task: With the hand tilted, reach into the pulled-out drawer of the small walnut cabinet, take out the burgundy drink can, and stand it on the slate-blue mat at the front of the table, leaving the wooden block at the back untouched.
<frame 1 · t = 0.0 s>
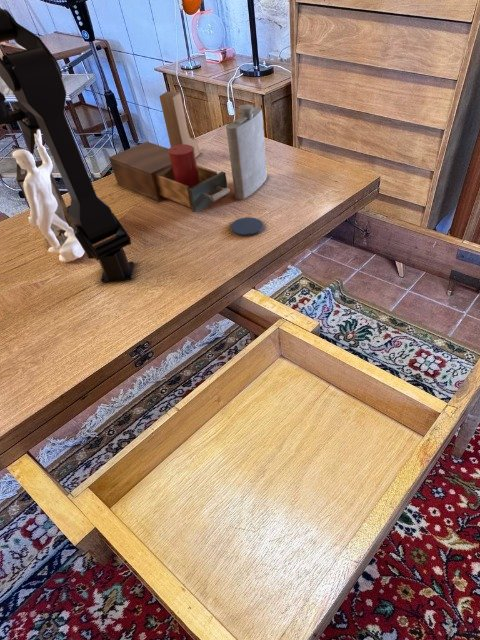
hand: (12, 159, 102), 15 cm above the table, tool pointing down, fingers open, 9 cm apart
hip flask: (252, 187, 125), on the table
wooden block: (187, 159, 138), on the table
figurine: (72, 254, 105), on the table
cabinet: (156, 184, 127), on the table
can: (189, 190, 120), point 2 cm above the table, touching drawer
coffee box: (62, 236, 110), on the table
drawer: (194, 186, 118), point 4 cm above the table, slide at 13.0 cm, touching can
mat: (247, 227, 111), on the table
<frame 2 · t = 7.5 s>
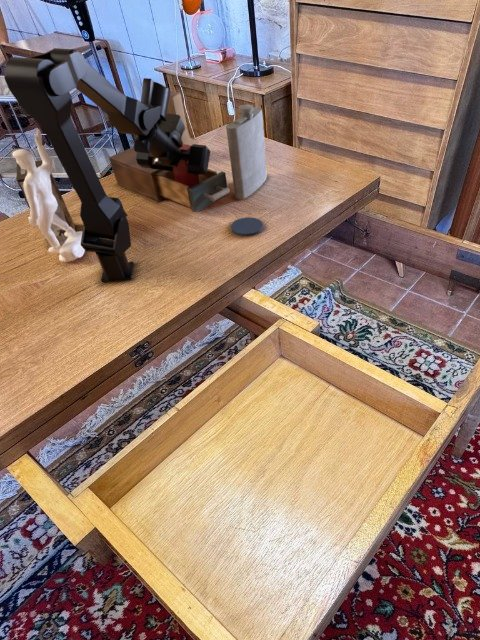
hand: (188, 171, 117), 7 cm above the table, tool tilted 45°, fingers closed on can, 6 cm apart
can: (189, 190, 120), point 2 cm above the table, touching drawer, gripper
everything else where it was.
when the fingers open (5 cm above the table, at t = 15.8 s): can stays where it is, resting on mat.
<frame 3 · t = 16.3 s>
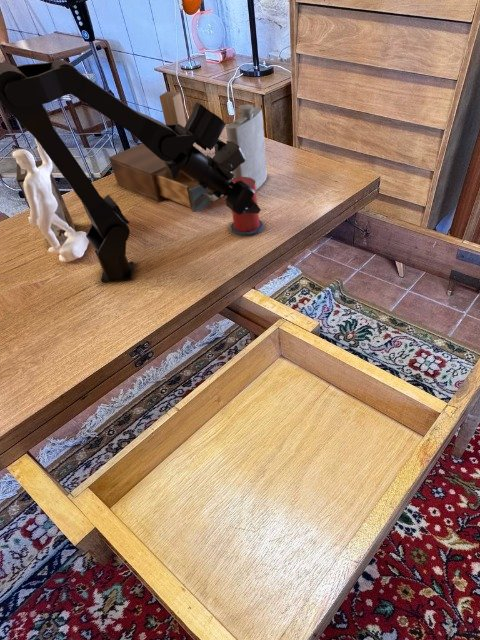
hand: (249, 203, 107), 6 cm above the table, tool tilted 45°, fingers open, 9 cm apart
can: (246, 225, 111), point 1 cm above the table, touching mat
drawer: (194, 186, 118), point 4 cm above the table, slide at 13.0 cm
everything else where it was.
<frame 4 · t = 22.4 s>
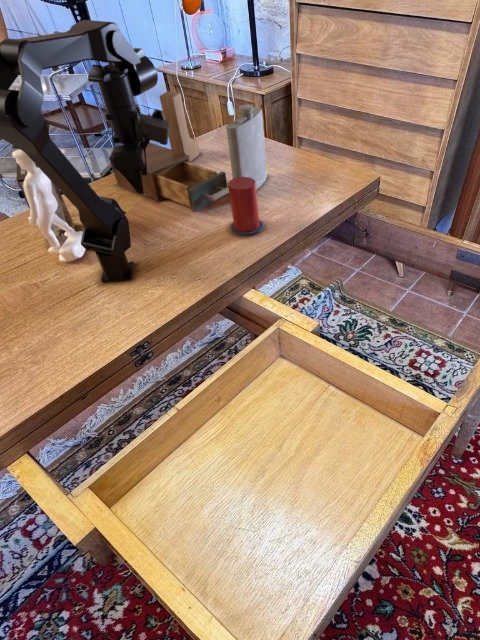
hand: (143, 184, 99), 13 cm above the table, tool pointing down, fingers open, 9 cm apart
nothing on the table moved.
at the end: can 0.0 cm off-centre on the mat, point 0.6 cm above the mat's base; can tilted 0°; wooden block moved 0.2 cm from its start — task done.
